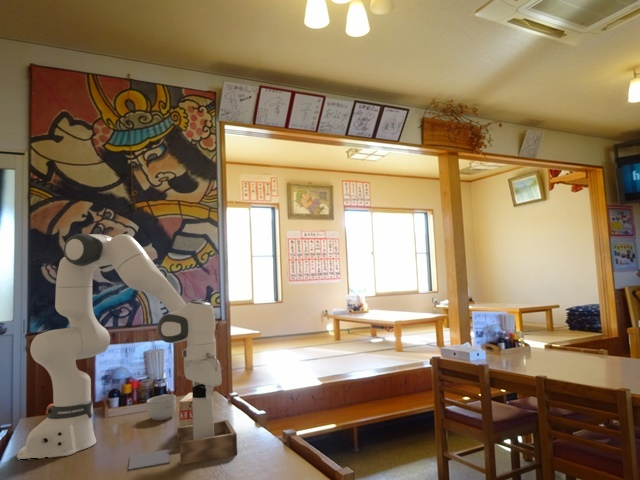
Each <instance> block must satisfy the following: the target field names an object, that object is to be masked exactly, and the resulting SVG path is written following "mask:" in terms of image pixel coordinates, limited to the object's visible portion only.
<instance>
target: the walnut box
mask: <svg viewBox="0 0 640 480" xmlns="http://www.w3.org/2000/svg"><path fill="white" fill-rule="evenodd" d="M176 430H177V431H176V432H177V435H176V436H177V438H176V439H177V448H178V449H179V451H180V452H179V454H180V465H181V466H182V465H188V464H192V463H198V462H203V461H209V460H215V459H219V458H220V457H221V458H227V457H231V456H237V455H238V443H237V442H238V441H237V440H238V438H237V437H238V435H237V432H236V431H235V429H234V427H233V425H232V424H231V421H229V419H223V420H217V421H214V436H213V437H207V438H201V439H194V440H193V425H189V426H183V427H180V426H178V427H177V429H176ZM221 458H220V459H221Z"/></svg>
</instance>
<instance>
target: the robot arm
mask: <svg viewBox="0 0 640 480" xmlns="http://www.w3.org/2000/svg"><path fill="white" fill-rule="evenodd" d="M63 255H64V257H62V258H61V259H60V261H59V265H58V268H57V272H56V273H57V274H56V281H55V300H54V301H55V302H54V303H55V305H54V308H55V310H56V312H57V313H58V314H59V315H61V316H63V317H65V318H67V320H68V323H69V327H66V328H57V329H52V330H48V331H44V332H41V333H38V334H37V335H36V336H35V337H34V338H33V340H32V341H31V344H30V349H29V351H30V355H31V357H32V359H33V360H34V362H36V363H37V364H39V365H41V366H42V367H43V368H45V370H46V371H47V373H48V375H49V376H50V379H51V384H52V391H53V392H52V393H53V395H52V396H53V403H51V404H48V406H47V407H46V410H45V414H46V418H44V420H42V421H41V422H40V423H39V424H37V426H36V427H34V428H33V429H32V430H31V431H30V432H29V433H28V436H27V438H26V442H25V446H23V447H21V449H19V450H18V451H17V453H16V459H17V458H19V459H24V458H38V459H46V458H45V457H48V458H56V457H65V456H66V457H67V456H70V455H73V454H76V453H77V452H79V451H82V450H85V449H87V448H88V449H89V448H90V447H92V446H93V445H95V444H96V443H97V438H96V436H95V431H94V425H93V419H92V417H93V415H94V410H93V409H94V407H93V406H94V403H93V399H92V382H91V381H92V380H91V376H90V375H89V374H88V373H87V372H84V371H82V370H80V369H79V368H78V366H77V363H76V362H77V361H78V360H83V359H87V358H88V359H89V358H93V357H96V356H99V355H101V354H103V353H105V352H106V351H107V350H108V348H109V346H110V343H111V336H110V333H109V331H108V330H107V328H105V326H103V325H102V324H101V323H100V322H99V321H98V319H97V318H96V316H95V313H94V307H93V279H94V278H93V276H94V272H95V271H96V270H97V269H98V268H99V269H100V270H104V269H106V268H109V267H113V268H114V270H115V272H116V273H117V274H118V276H119V278H120V279H121V280H122V282H124V283H125V285H127V286H128V287H129V288H130V289H133V290H135V291H140V292H143V293H146V294H149V295H151V296H153V297H155V298H157V299H158V300H159V301H160V302H161V303H162V304H163V306H164V307H165V308H166V310H167V311H168V313H167V314H165V315H162V316H161V317H160V319H159V321H158V323H157V330H156V331H157V334H158V337H159V338H160V339H161V340H162V341H163V342H164V343H169V344H176V343H181V342H184V341H186V348H184V349H183V350H182V351H181V352H182V353H181V354H182V358H183V371H184V377H185V378H186V380H189V381H191V382H192V384H191V385H192V388H193V387H194V386H196V385H200V384H203V385H205V387H206V393H205V399H207V400H210V399H212V392H213V391H214V390H215V389H214V388H215V387H219V386H221V384H222V383H223V379H222V369H221V363H220V361H219V360H218V358H217V340H216V336H215V332H216V316H215V309H214V306H213V305H212V303H210V302H208V301H203V300H191V301H188V302H187V301H186V300H185V299H184V297H183V296H182V295H181V294H180V292H179V291H178V290H177V289H176V288H175V286H174V285H173V284H172V283H171V281H170V280H168V279H167V278H166V276H165V275H164V274H163V272H161V270H159V268H158V267H157V266H156V264H155V263H154V262H153V260H152V259H151V258H150V256H149V254H148V252H146V250H145V249H144V248H143V246H141V244H140V243H139V242H138V241H137V240H136V239H135V238H134V237H133V236H132V235H129V234H128V233H127V234H125V233H123V234H122V233H121V234H117V235H115V236H113V235H106V234H103V233H101V234H100V233H96V234H95V233H92V234H91V233H89V234H87V233H79V234H74V235H72V236H70V237H68V238H67V240H66V241H65V243H64V245H63ZM76 360H77V361H76Z"/></svg>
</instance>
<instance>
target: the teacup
mask: <svg viewBox="0 0 640 480" xmlns="http://www.w3.org/2000/svg"><path fill="white" fill-rule="evenodd" d="M176 399H177V398H176V394H175V395H174V394H162V395H156V396H154V397H151V398H148V399H147V400H146V405H147V414H148V416H149V418H151V419H152V420H154V421H157V422H158V421H165V420H168V419H170V418H172V417H173V415H174V414H175V413H176V410H177V402H176V401H177V400H176Z"/></svg>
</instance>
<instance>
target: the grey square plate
mask: <svg viewBox="0 0 640 480" xmlns="http://www.w3.org/2000/svg"><path fill="white" fill-rule="evenodd" d="M167 464H168V465H169V464H170V455H169V449H164V450H157V451H153V452H146V453H140V454H134V455H130V456H129V461H128V471H133V470H135V471H136V470H139V469H144V468H145V469H146V468H151V467H156V466H163V465H167Z"/></svg>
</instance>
